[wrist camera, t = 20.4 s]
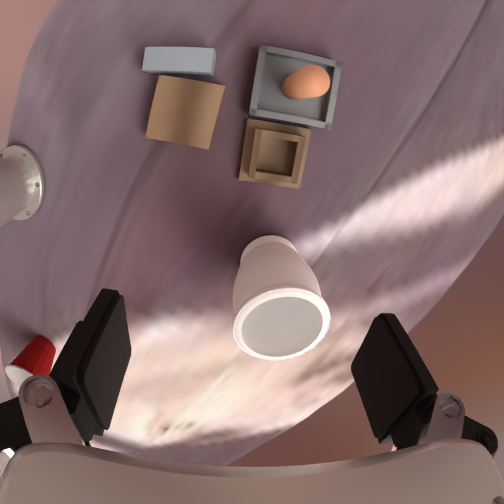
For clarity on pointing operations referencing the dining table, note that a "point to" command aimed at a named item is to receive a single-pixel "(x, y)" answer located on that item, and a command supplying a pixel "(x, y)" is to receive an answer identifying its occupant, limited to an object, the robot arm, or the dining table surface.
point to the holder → (274, 153)
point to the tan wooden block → (185, 111)
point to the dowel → (306, 83)
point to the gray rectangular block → (179, 60)
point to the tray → (276, 103)
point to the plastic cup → (32, 361)
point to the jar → (277, 302)
